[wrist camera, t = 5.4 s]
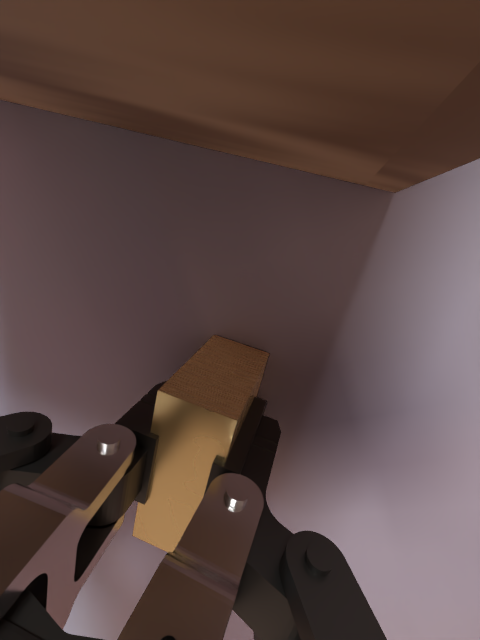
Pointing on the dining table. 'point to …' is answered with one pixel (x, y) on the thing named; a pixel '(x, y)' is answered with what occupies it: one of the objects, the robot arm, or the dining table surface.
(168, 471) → the wooden block
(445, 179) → the dining table surface
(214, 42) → the box
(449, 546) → the dining table surface
